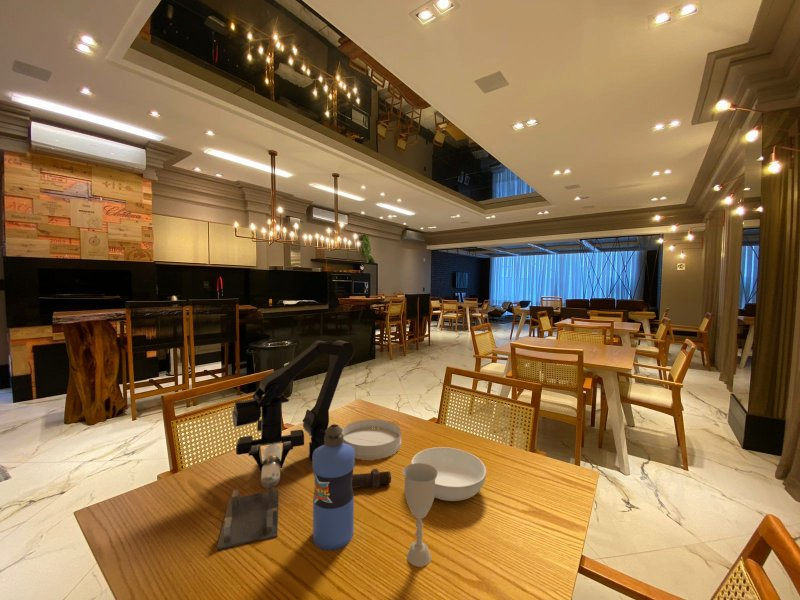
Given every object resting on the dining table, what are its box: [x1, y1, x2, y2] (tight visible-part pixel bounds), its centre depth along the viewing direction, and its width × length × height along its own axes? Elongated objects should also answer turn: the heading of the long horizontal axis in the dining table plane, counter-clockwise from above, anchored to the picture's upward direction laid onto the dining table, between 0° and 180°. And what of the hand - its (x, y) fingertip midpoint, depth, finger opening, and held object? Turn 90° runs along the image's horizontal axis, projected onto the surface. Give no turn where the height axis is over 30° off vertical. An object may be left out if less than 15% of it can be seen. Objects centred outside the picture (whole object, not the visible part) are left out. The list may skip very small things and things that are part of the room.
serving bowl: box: [410, 446, 487, 502], centre depth 91 cm, size 21×21×7 cm
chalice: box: [402, 463, 438, 568], centre depth 67 cm, size 7×7×18 cm
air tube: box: [260, 444, 282, 489], centre depth 98 cm, size 5×16×5 cm, turn 20°
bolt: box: [352, 468, 392, 490], centre depth 91 cm, size 6×5×15 cm
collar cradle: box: [216, 483, 279, 551], centre depth 78 cm, size 12×17×4 cm
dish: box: [341, 418, 402, 461], centre depth 116 cm, size 22×22×5 cm
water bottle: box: [311, 423, 356, 551], centre depth 73 cm, size 9×9×25 cm
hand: (271, 469), depth 98 cm, fingers closed on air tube, 5 cm apart
